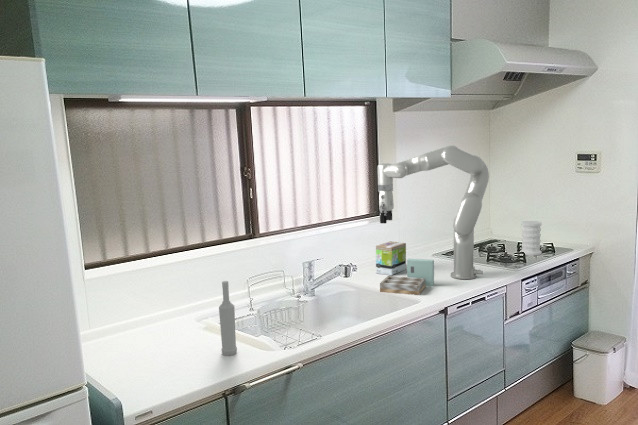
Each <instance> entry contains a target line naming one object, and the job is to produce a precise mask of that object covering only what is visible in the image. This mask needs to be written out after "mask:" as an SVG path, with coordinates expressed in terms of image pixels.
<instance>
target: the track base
mask: <svg viewBox="0 0 638 425" xmlns="http://www.w3.org/2000/svg"><path fill="white" fill-rule="evenodd" d="M426 287H427V286H426V284H425V278H412V277H407V276H397V275H386V277H385V278H384V279H383V280H381V281H380V283H379V292H381V293H391V294H401V293H404V295H413V294H414V295H415V296H420V294H421V293H422V292H423V290H425V288H426ZM414 295H413V296H414Z"/></svg>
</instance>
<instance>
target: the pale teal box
mask: <svg viewBox="0 0 638 425" xmlns="http://www.w3.org/2000/svg"><path fill="white" fill-rule="evenodd" d="M406 269H407V270H406V272H407V273H406V277H412V278H425V284H426V287H434V285H435V260H434V259H423V258H408V259H406Z"/></svg>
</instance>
